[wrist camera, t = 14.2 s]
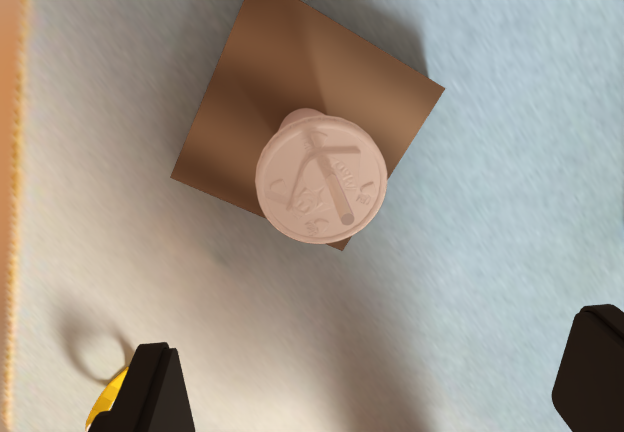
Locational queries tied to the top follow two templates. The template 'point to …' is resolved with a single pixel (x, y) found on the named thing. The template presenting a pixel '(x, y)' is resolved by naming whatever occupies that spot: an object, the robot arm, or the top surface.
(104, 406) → the watch
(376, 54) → the walnut base
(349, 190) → the smoothie
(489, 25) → the top surface
